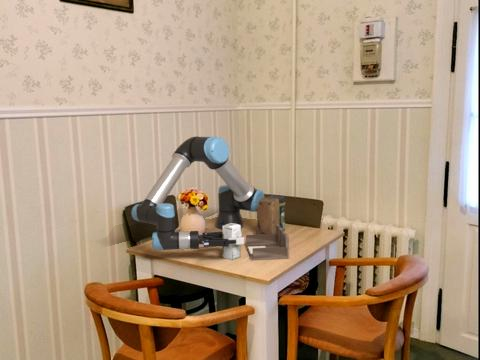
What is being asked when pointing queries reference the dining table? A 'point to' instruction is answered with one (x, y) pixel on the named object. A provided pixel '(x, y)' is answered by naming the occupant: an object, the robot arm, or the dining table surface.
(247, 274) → the dining table surface
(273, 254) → the bay
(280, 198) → the coffee jar
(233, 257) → the syrup box
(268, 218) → the block
